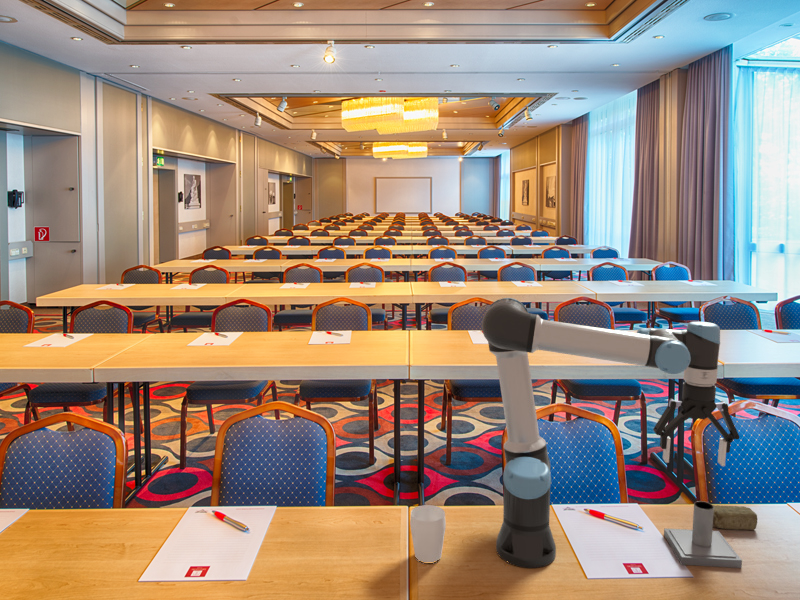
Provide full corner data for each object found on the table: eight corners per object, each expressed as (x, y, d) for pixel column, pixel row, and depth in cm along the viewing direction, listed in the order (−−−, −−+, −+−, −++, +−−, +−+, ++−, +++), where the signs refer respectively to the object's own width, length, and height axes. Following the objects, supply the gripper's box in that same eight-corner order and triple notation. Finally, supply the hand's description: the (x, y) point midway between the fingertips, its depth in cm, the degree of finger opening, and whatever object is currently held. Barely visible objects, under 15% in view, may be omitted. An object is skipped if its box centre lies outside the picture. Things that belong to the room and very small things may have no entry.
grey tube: (688, 538, 156) (690, 500, 155) (706, 538, 156) (708, 500, 155) (696, 547, 152) (699, 509, 150) (714, 547, 151) (717, 509, 150)
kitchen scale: (681, 564, 148) (682, 556, 148) (663, 535, 162) (664, 527, 162) (741, 567, 146) (742, 559, 146) (718, 538, 160) (718, 529, 160)
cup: (450, 552, 155) (450, 508, 153) (438, 570, 147) (438, 524, 145) (418, 544, 159) (418, 502, 157) (404, 562, 151) (404, 517, 149)
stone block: (758, 532, 163) (759, 514, 163) (714, 530, 165) (715, 513, 164) (748, 521, 169) (749, 504, 168) (705, 520, 170) (706, 503, 170)
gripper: (652, 384, 150) (646, 465, 153) (758, 389, 146) (751, 471, 149) (644, 376, 157) (639, 453, 160) (745, 381, 154) (738, 459, 156)
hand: (693, 462), depth 154 cm, fingers open, 13 cm apart
